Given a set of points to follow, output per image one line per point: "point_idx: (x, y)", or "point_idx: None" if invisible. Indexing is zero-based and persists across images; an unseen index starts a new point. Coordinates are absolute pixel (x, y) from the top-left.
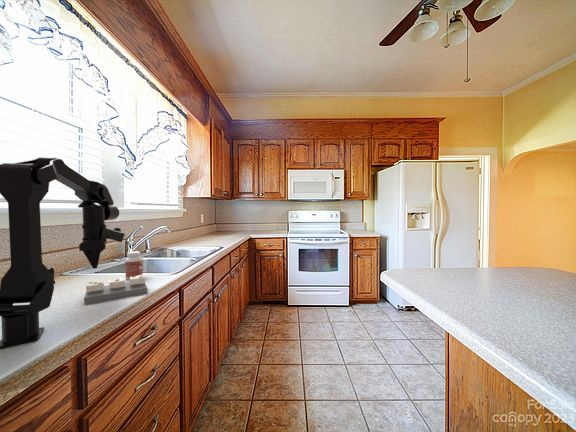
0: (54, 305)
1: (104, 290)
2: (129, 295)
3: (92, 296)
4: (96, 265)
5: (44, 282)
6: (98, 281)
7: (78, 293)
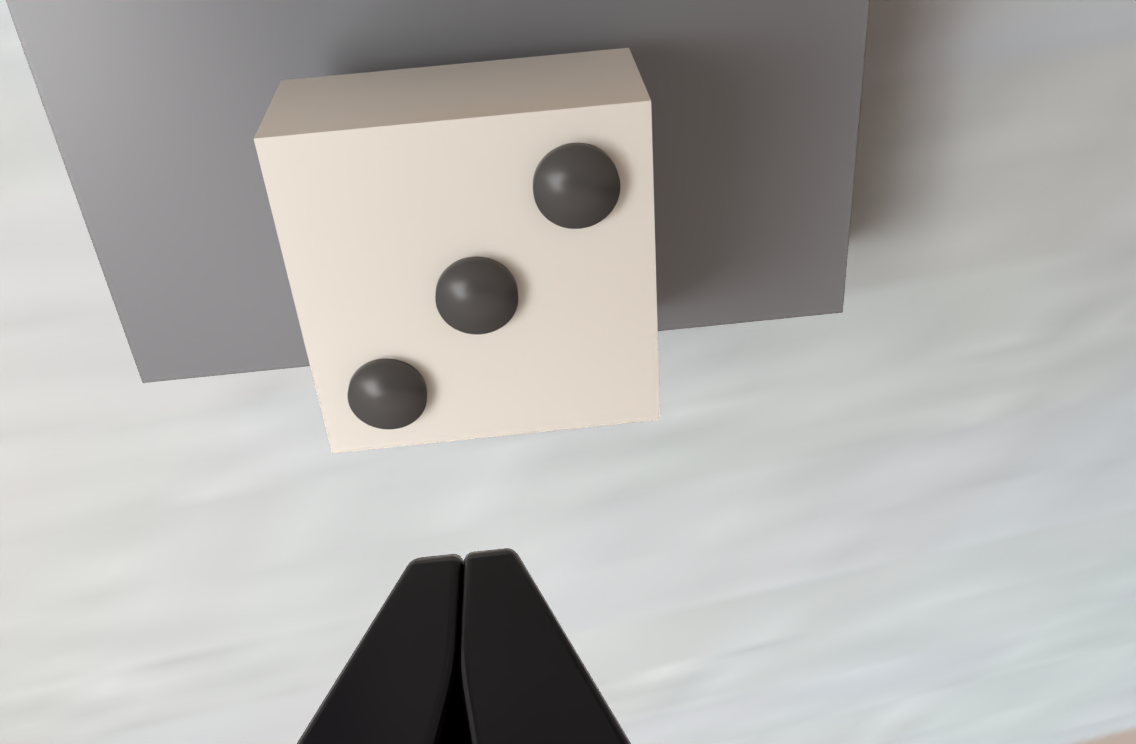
0: (598, 582)
1: (511, 26)
2: None
3: (847, 193)
4: (564, 639)
5: None
6: (300, 254)
7: (56, 456)
